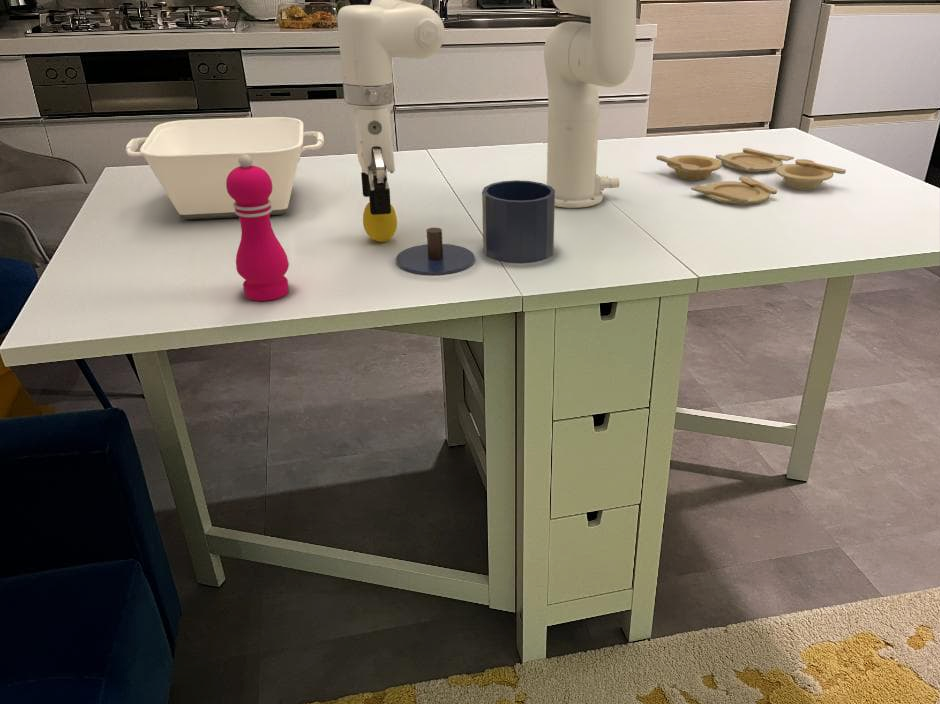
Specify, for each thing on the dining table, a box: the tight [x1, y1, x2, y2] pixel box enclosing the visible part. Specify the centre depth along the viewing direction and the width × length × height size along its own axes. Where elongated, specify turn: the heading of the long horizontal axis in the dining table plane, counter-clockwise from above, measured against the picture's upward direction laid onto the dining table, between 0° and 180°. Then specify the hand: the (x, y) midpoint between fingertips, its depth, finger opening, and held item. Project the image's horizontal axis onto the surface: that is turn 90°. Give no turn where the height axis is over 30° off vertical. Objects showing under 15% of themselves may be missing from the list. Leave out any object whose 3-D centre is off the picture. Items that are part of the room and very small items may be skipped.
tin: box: [481, 179, 556, 265], centre depth 135 cm, size 11×11×10 cm
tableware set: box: [655, 147, 847, 205], centre depth 175 cm, size 35×29×4 cm
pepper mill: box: [226, 155, 290, 302], centre depth 117 cm, size 7×7×20 cm
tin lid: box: [395, 227, 476, 276], centre depth 131 cm, size 12×12×6 cm
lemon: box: [362, 201, 398, 244], centre depth 138 cm, size 6×6×8 cm
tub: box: [125, 116, 325, 220], centre depth 153 cm, size 34×27×13 cm
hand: (376, 204), depth 136 cm, fingers open, 9 cm apart
